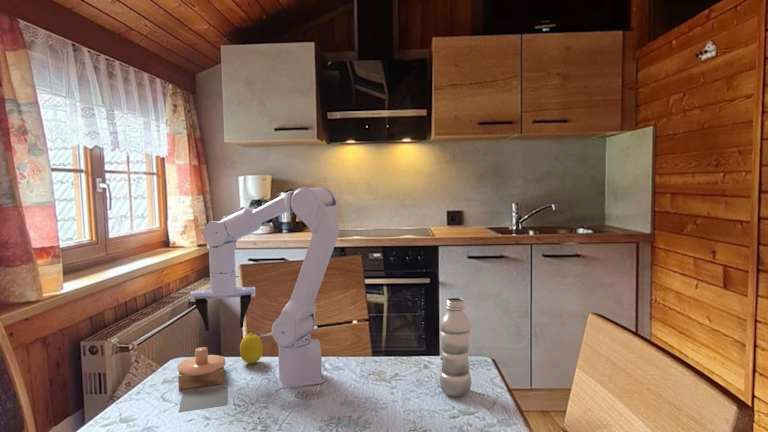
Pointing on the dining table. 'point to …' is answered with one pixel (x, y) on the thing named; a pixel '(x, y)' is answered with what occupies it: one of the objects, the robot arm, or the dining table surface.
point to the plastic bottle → (455, 349)
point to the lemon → (251, 348)
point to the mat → (204, 399)
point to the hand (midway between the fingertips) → (224, 328)
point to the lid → (201, 363)
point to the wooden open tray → (201, 380)
